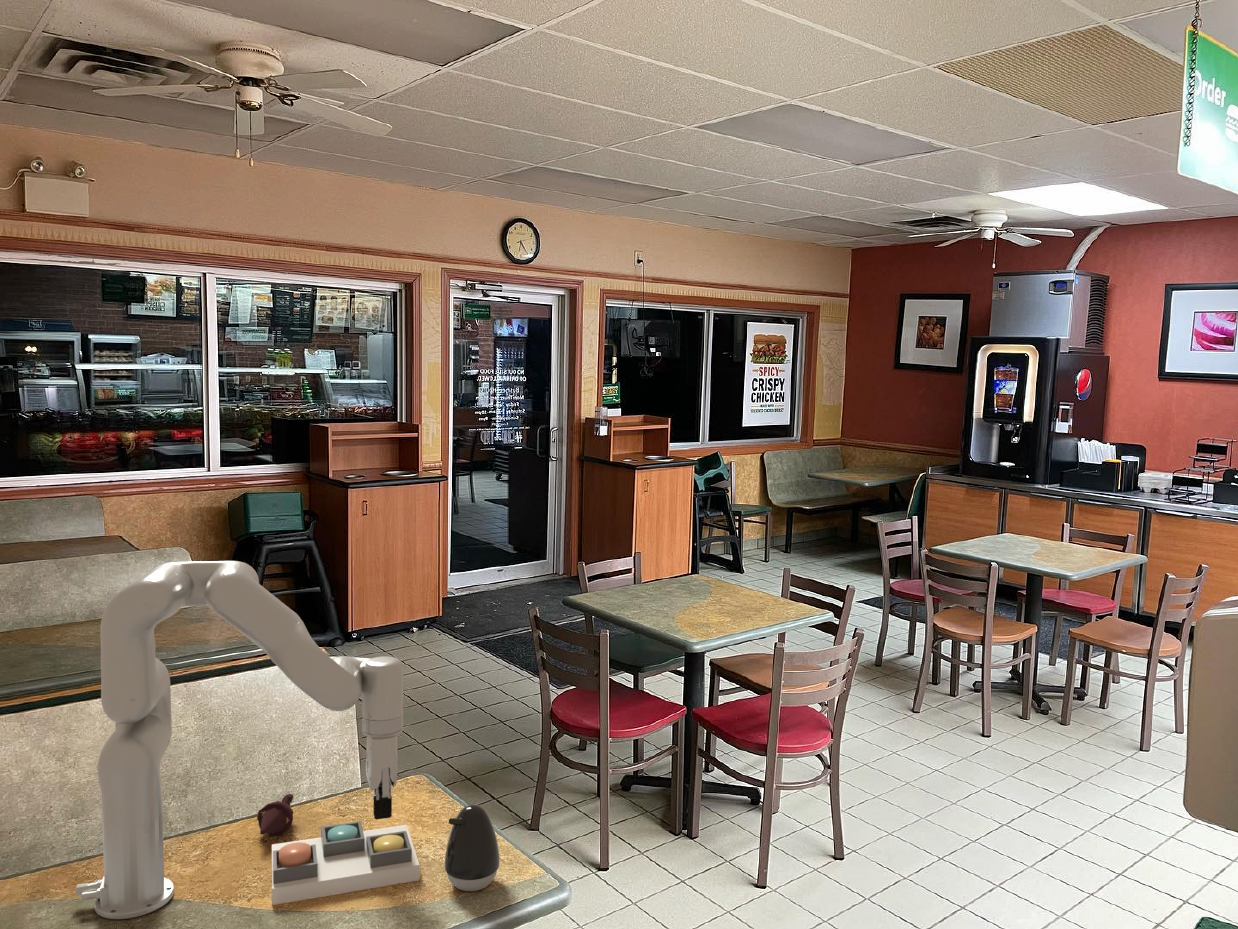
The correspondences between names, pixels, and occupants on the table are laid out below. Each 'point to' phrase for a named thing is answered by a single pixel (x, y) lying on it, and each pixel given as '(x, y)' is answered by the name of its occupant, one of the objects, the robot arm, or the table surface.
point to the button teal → (342, 833)
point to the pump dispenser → (472, 850)
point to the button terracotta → (294, 855)
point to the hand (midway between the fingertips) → (382, 816)
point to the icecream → (276, 817)
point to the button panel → (344, 865)
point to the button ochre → (388, 843)
